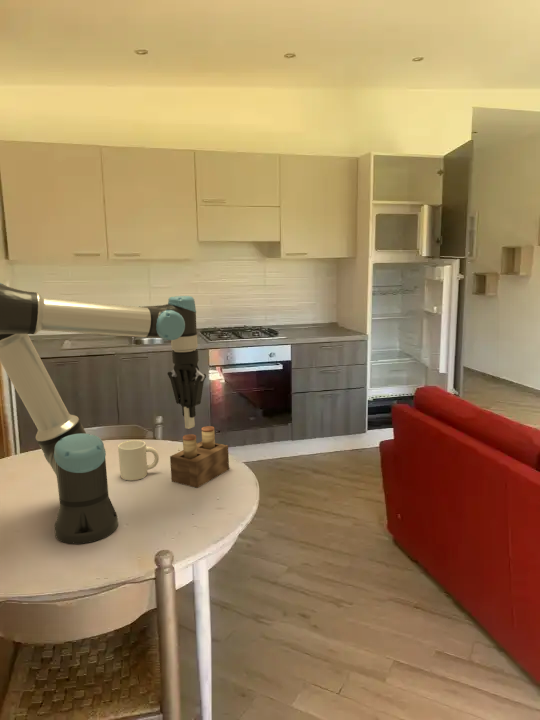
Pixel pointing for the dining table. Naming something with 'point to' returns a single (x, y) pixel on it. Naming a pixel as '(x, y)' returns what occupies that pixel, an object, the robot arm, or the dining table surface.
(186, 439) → the peg near
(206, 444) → the peg far
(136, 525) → the dining table surface
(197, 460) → the socket block
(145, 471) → the mug
